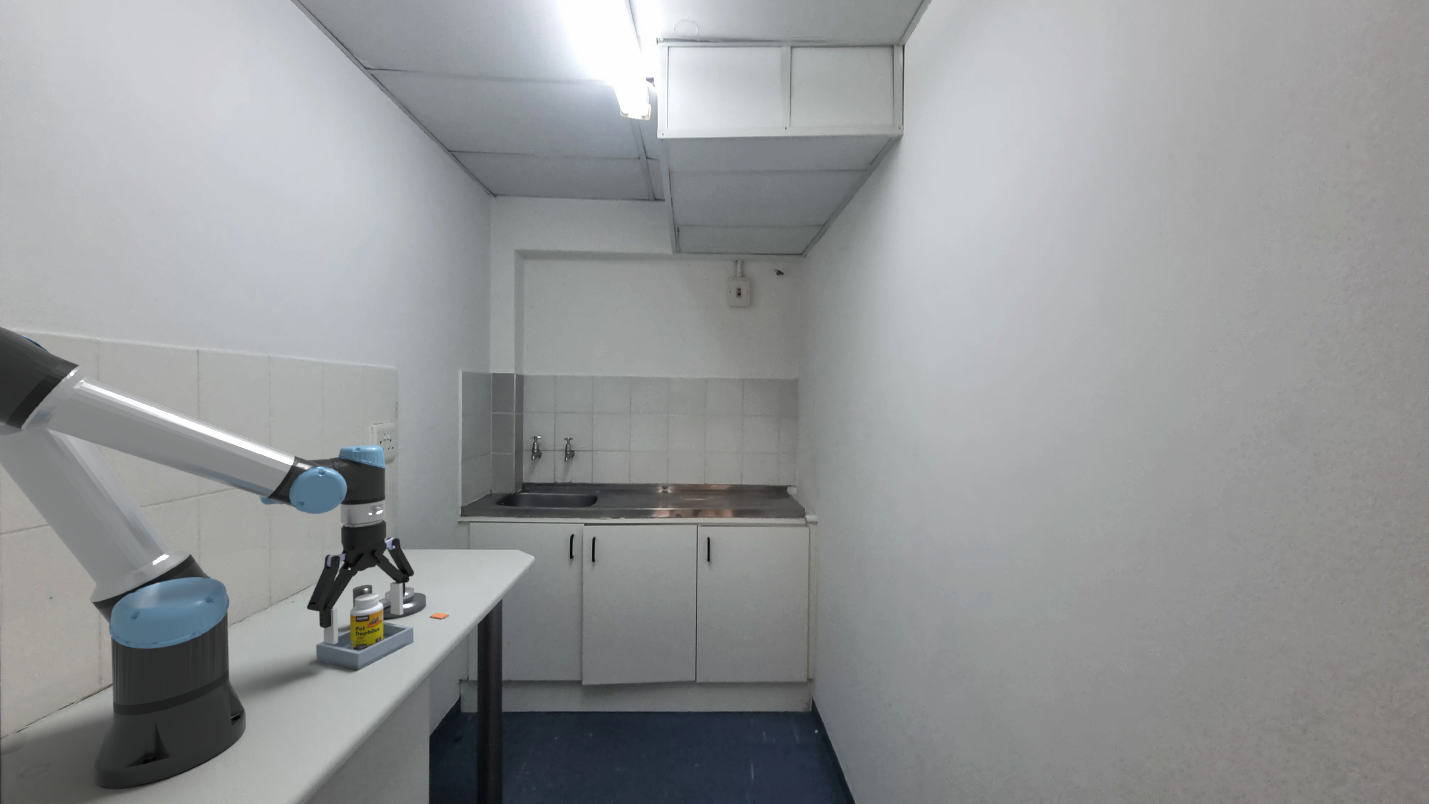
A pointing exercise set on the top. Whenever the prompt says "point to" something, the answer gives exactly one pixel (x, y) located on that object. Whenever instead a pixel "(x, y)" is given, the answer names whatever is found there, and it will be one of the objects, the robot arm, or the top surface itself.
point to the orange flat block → (439, 615)
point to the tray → (346, 657)
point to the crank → (386, 602)
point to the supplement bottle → (366, 622)
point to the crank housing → (407, 607)
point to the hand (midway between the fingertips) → (366, 627)
